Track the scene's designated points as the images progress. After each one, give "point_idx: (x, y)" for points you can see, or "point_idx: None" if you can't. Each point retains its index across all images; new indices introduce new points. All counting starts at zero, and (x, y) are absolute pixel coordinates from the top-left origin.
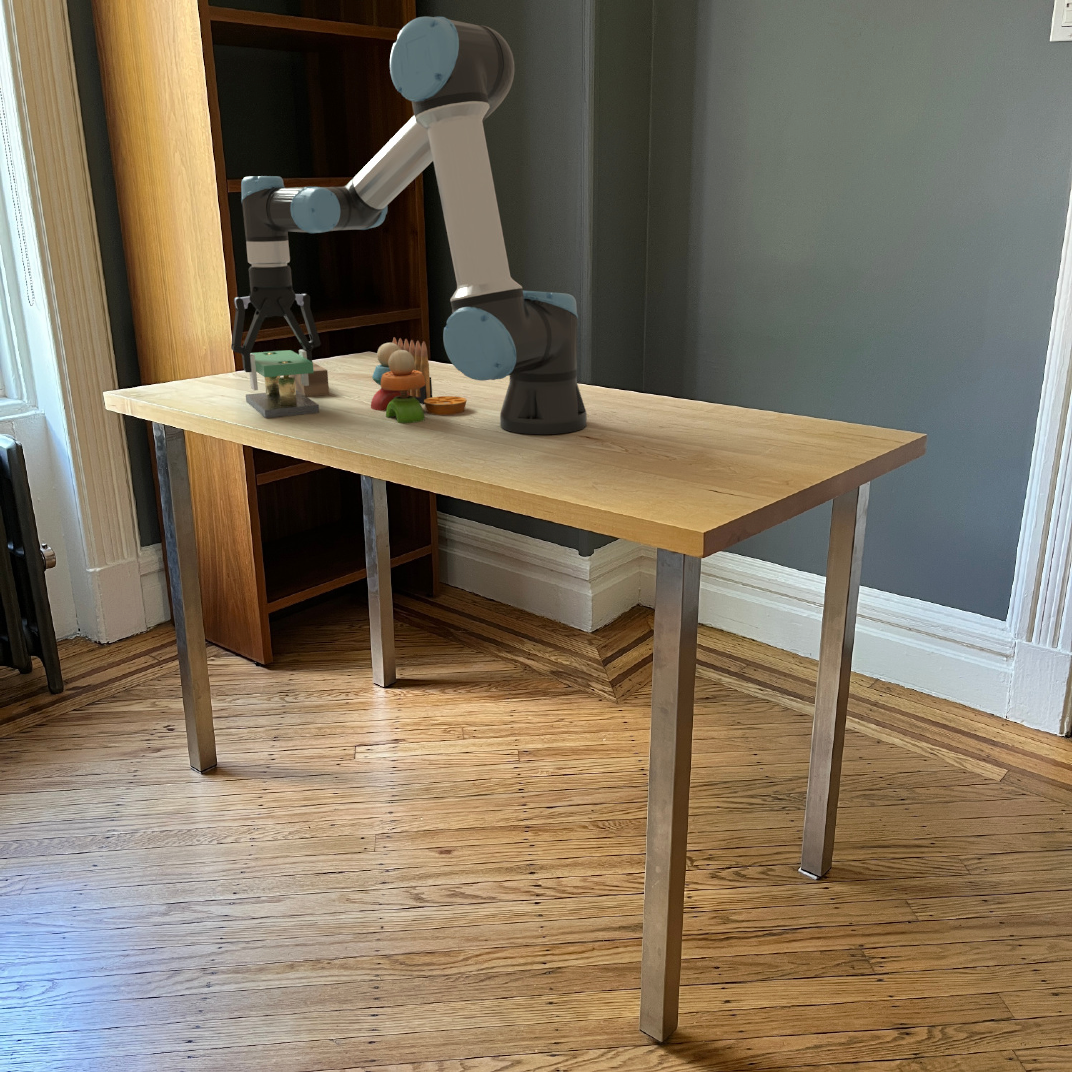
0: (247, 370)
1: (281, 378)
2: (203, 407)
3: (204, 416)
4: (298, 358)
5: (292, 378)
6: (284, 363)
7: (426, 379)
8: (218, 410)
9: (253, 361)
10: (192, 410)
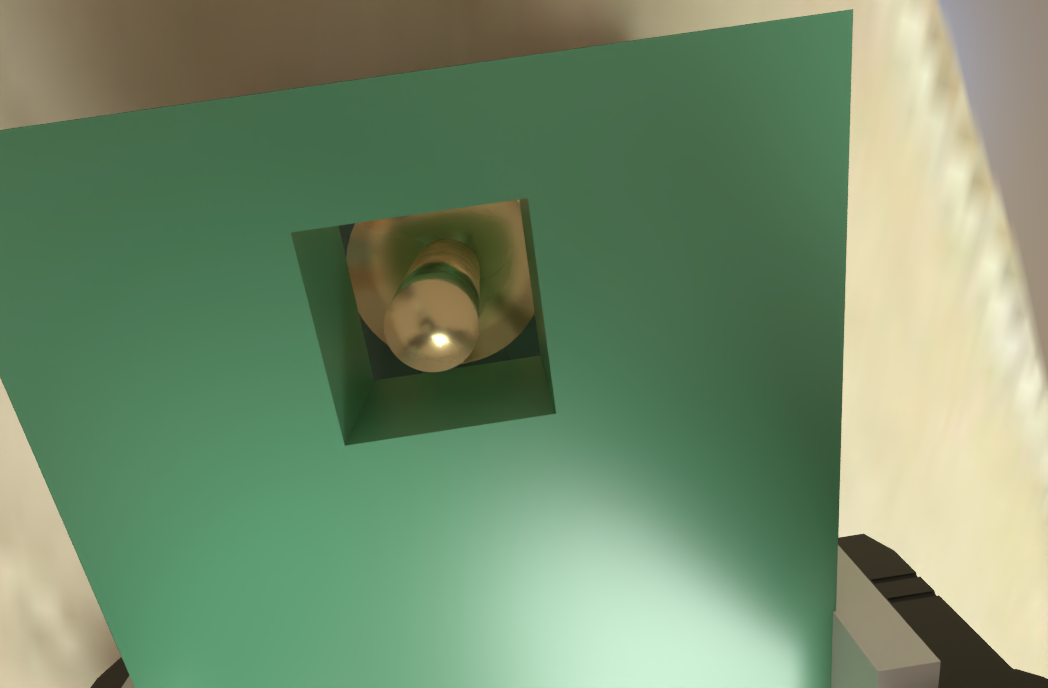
0: (863, 546)
1: (506, 274)
2: (940, 576)
3: (1008, 313)
4: (211, 611)
5: (375, 226)
6: (451, 187)
7: None
8: (885, 468)
9: (854, 597)
10: (1018, 514)
